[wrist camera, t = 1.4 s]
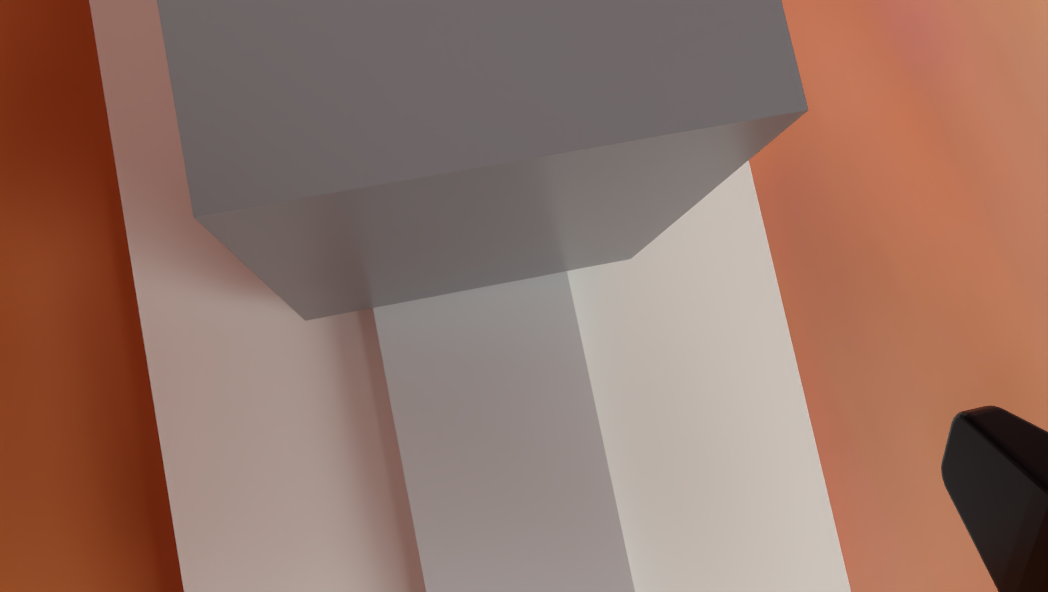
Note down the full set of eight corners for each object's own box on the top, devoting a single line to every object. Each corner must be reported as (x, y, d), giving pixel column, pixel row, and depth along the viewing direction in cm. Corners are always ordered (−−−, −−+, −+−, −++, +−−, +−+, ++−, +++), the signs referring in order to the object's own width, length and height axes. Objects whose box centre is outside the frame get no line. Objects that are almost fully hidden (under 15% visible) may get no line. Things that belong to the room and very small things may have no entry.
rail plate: (830, 588, 20) (902, 616, 17) (221, 733, 18) (181, 793, 15) (617, -316, 22) (648, -434, 19) (61, -253, 20) (-1, -369, 17)
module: (630, 258, 18) (809, 110, 10) (304, 320, 17) (193, 217, 9) (578, 24, 19) (705, -309, 10) (261, 75, 18) (116, -241, 9)
